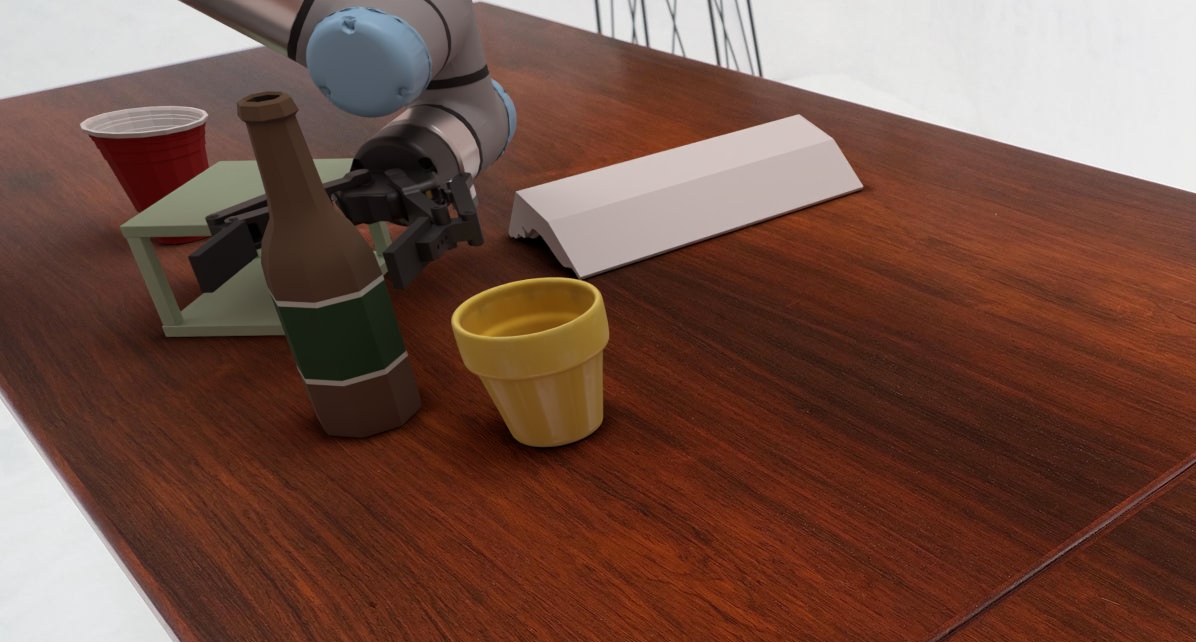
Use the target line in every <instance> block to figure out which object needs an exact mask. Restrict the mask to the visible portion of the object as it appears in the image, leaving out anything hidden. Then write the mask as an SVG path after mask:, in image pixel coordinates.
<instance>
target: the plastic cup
mask: <svg viewBox="0 0 1196 642" xmlns="http://www.w3.org/2000/svg"><path fill="white" fill-rule="evenodd" d="M208 120H209V114H208V113H207V111H205V109H201V108H196V107H193V106H192V107H191V106H179V105H159V106H143V107H135V108H125V109H118V110H114V111H109V112H103V113H100V114H98V115H94V116H91V117H88V118H86V119H85V120H83V121H82V122H80V123H79V125H80V128H81V130H82V131H83V133H84V134H85V135H88V137H89V138H90V139H91V141H92V142H93V144H94V145H95V147H96V149H97V150H99V153H100V154H101V155H102V157H103V159H104V161H106V162H107V164H108V166H109V168H110V169H111V171H112V172H113V174H114V176H115V178H116V180H117V181H118V182H119V184H120V186H121V187H122V189H123V191H124V193H125V194H126V196H127V198H128V200H129V201H130V202H131V204H132V206H133V207H134V209H135V211H136V212H137V213H138V214H139V213H141V212H142V211H144V210H145V209H147V208H148V207H150V206H152V205H153V204H155V203H156V202H158V201H159V200H161V199H162V198H164V197H165V196H167V195H168V194H170V193H171V192H173V191H174V190H176V189H178V188H179V187H181V186H182V185H184V184H185V183H187V182H188V181H190V180H191V179H193V178H194V177H196V176H197V175H199V174H201V173H202V172H204V171H205V170H207V169H208V168H210V166H209V159H208V153H207V149H206V148H207V147H206V145H207V141H206V124H207V121H208ZM208 237H209V236H185V237H154V238H155V239H156V241H157V242H158V243H160V244H164V245H179V244H187V243H191V242H195V241H200V240H202V239H205V238H208Z"/></svg>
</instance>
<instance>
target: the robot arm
mask: <svg viewBox="0 0 1196 642" xmlns="http://www.w3.org/2000/svg"><path fill="white" fill-rule="evenodd" d="M177 1H178V2H180V3H182V4H183V5H186V6H188V7H190V8H191V9H194V10H196V11H198V13H201V14H203V15H205V16H207V17H209V18H210V19H213V20H215V21H216V22H218V23H220V24H223V25H224V26H226V27H228V28H230V29H232V30H234V31H235V32H237V33H240V34H241V35H243V36H245V37H247V38H249V39H251V40H252V41H255V42H256V43H259V44H261V45H263V46H264V47H266V48H268V49H270V50H272V51H274V52H276V53H278V54H280V55H281V56H283V57H286V58H287V59H290V61H293V62H295V63H297V64H299V65H301V66H302V67H304V68H306V69H307V71H308V73H309V76H310V79H311V81H312V82H313V84H314V86H315V87H316V88H317V89H318V91H319V92H320V93H321V94H322V95H323V96H324V97H325V98H326V99H327V101H329V102H330V103H331V104H332V105H333V106H335V107H336V108H338V109H339V110H341V111H343V112H345V113H347V114H350V115H353V116H357V117H360V118H369V119H370V118H371V119H373V118H375V119H376V118H382V117H383V118H384V117H386V116H389V115H391V114H395V113H396V112H398V111H400V110H402V109H403V108H404V107H405V111H403V112H402V113H401V114H399V115H398V116H397V117H395V118H394V119H393V120H391V121H390V122H389V123H387V124H386V125H384V126H383V127H382V128H381V129H379V131H378V132H376V133H375V134H373V135H372V136H371V137H370V138H368V139H367V140H366V141H364V142H363V143H362V144H361V145H360V146H359V147H358V149H357V150H356V152H355V154H354V155H353V161H352V165H351V168H350V172H348V173H346V174H345V176H344V177H343V178H340V179H336V180H333V181H329V182H326V183H322V184H323V186H324V189H325V191H326V193H327V195H328V197H329V198H330V200H331V202H332V204H333V206H334V207H335V205H336V206H337V208H338V209H339V211H340V212H341V214H343V215H344V216H345V217H346V218H347V219H349V220H350V221H351V223H352V224H353V225H354V226H355V227H357V226H359V225H363V224H365V225H367V226H368V225H369V224H373V223H377V222H380V221H386V222H388V223H390V224H393V225H395V226H399V227H407V228H406V229H405V230H404V231H403V232H402V233H401V234H400V235H399V236H398V237H397V238H396V239H394V241H392V244H391V245H390V246H389V247H388V248H387V249H386V250H385V251H384V252H383V253H382V254H383V257H384V260H385V263H386V267H387V270H388V272H387V273H388V277H389V280H390V282H391V283H390V284H391V286H392V289H393V290H394V291H395V290H396V291H397V290H400V291H401V290H405V289H406V288H407V287H408V286H410V284H411V283H412V282H413V281H414V280H415V279H416V278H417V277H418V276H419V275H420V273H422V271H423V270H424V269H425V268H426V267H427V266H428V265H429V264H430V263H431V262H434V261H437V260H439V259H440V258H441V257H442V256H443V255H444V254H445V253H446V251H451V250H454V249H457V248H458V247H459V244H458V243H461V242H467V245H468V247H469V246H470V247H480V246H483V245H484V244H485V243H486V240H485V236H484V233H483V228H482V224H481V221H480V217H479V213H478V209H477V207H478V206H479V205H480V204H479V200H478V199H479V198H478V195H477V192H476V187H475V183H474V181H475V180H476V179H477V178H478V177H479V176H481V174H483V172H485V171H486V170H487V169H488V168H489V167H490V166H492V165H493V164H494V163H495V162H496V161H498V160H499V158H501V157H502V156H503V155H504V153H505V152H506V150H507V148H508V145H509V144H510V142H511V141H512V139H513V138H514V135H515V133H516V130H517V124H518V119H517V111H516V110H517V109H516V107H515V104H514V102H513V100H512V98H511V97H510V95H509V94H508V93H507V91H506V90H505V89H504V88H503V86H502V85H501V84H500V83H499V82H498V81H496V80H494V79H493V78H492V76H491V72H490V69H489V65H488V61H487V58H486V54H485V49H484V45H483V41H482V36H481V32H480V28H479V24H478V19H477V15H476V10H475V6H474V1H473V0H177ZM334 203H335V205H334ZM450 206H451V207H452V210H453V211H455V212H456V214H457V217H451V215H450V210H449V207H450ZM269 218H270V217H269V210H268V204H267V197H266V194H263V195H260V196H258V197H255V198H252V199H250V200H247V201H245V202H242V203H239V204H237V205H234V206H231V207H229V208H226V209H223V210H221V211H218V212H216V213H212V214H210V215H208V216H206V217H205V220H206V222H207V225H208V228H209V230H210V233H211V235H212V236H211V238H208V240H207V241H205V242H204V243H203V244H202V245H201V246H200V247H198V248H197V249H195V250H194V251H193V252H192V253H190V254H189V255H187V258H188V261H189V264H190V266H191V269H192V271H193V274H194V276H195V278H196V281H197V283H198V286H199V289H200V292H201V293H202V294H203V293H213V292H214V291H216V290H217V289H218V288H219V287H221V286H222V285H223V284H224V283H225V282H227V281H228V280H229V279H230V278H232V277H233V276H234V275H235V274H237V273H238V272H239V271H240V270H241V269H243V268H244V267H245V266H246V265H248V264H249V263H250V262H252V260H254V259H255V258H256V257H257V256H258V253H257V251H256V250H258V249H261V245H262V239H263V236H264V233H265V230H266V227H267V224H268V221H269Z"/></svg>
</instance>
